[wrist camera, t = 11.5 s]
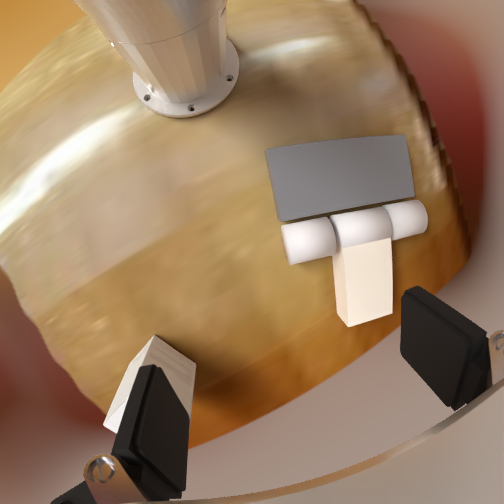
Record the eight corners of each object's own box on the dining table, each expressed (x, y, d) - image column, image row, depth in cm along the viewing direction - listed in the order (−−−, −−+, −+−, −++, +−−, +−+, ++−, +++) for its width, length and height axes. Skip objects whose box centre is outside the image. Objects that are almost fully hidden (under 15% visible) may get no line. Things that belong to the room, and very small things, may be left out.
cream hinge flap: (326, 213, 33) (340, 217, 28) (372, 205, 33) (390, 208, 29) (336, 313, 36) (349, 328, 32) (378, 301, 36) (393, 314, 32)
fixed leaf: (264, 151, 30) (270, 145, 26) (396, 136, 31) (415, 132, 27) (285, 259, 33) (293, 269, 29) (409, 230, 34) (428, 236, 30)
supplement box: (127, 363, 35) (99, 424, 23) (155, 332, 34) (128, 394, 22) (169, 392, 36) (155, 456, 24) (199, 364, 36) (191, 432, 23)
